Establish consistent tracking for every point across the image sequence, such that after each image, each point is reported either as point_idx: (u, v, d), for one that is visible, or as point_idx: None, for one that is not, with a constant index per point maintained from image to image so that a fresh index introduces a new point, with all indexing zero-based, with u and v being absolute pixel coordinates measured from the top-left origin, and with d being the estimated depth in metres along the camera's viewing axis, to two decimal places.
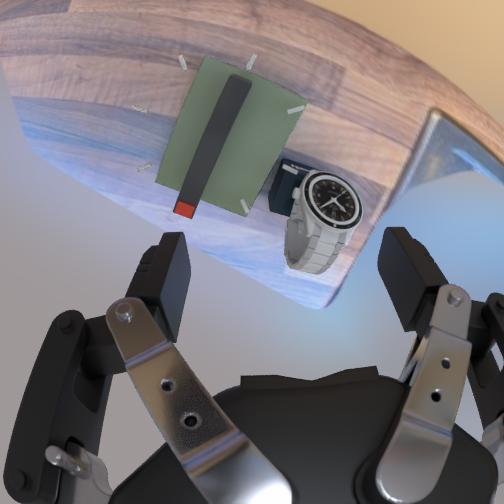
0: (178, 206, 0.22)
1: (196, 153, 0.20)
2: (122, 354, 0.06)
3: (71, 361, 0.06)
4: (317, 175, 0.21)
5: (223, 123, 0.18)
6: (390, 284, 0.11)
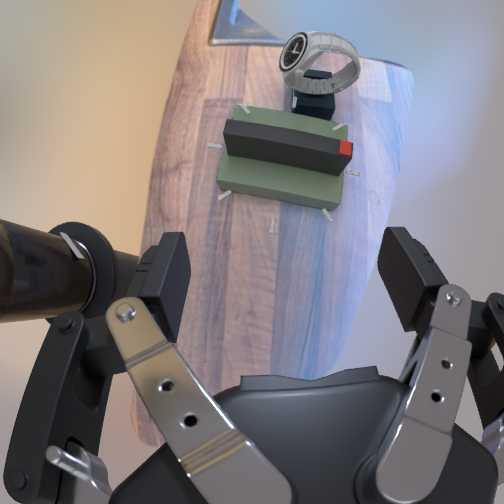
0: (344, 152, 0.23)
1: (293, 144, 0.23)
2: (122, 354, 0.06)
3: (71, 361, 0.06)
4: (283, 69, 0.25)
5: (262, 129, 0.24)
6: (390, 284, 0.11)
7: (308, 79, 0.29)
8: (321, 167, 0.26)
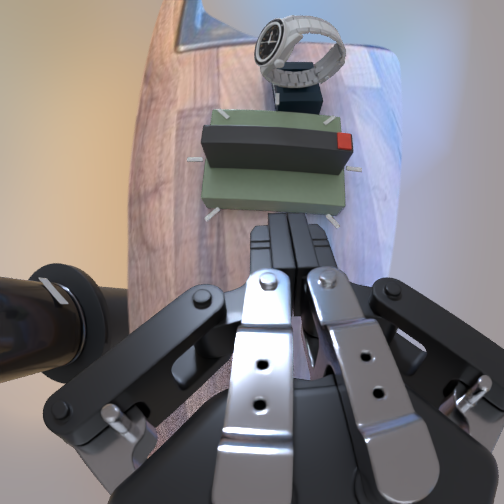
0: (343, 146, 0.20)
1: (283, 144, 0.20)
2: (243, 317, 0.07)
3: (186, 339, 0.07)
4: (260, 62, 0.21)
5: (245, 132, 0.20)
6: None
7: (288, 72, 0.26)
8: (319, 167, 0.23)
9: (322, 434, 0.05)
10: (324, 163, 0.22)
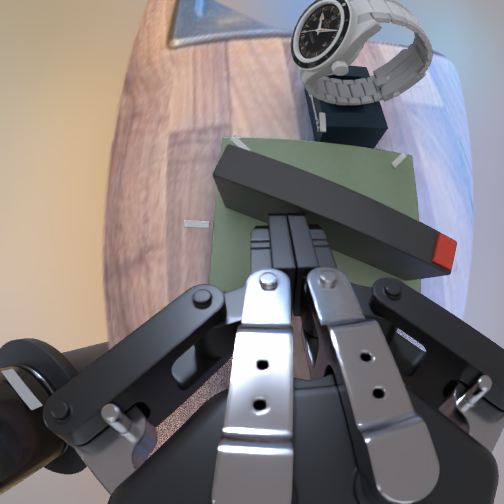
0: (442, 261, 0.11)
1: (352, 226, 0.11)
2: (243, 316, 0.07)
3: (186, 339, 0.07)
4: (303, 63, 0.13)
5: (295, 180, 0.12)
6: None
7: (336, 80, 0.17)
8: (387, 266, 0.14)
9: (322, 434, 0.05)
10: (397, 266, 0.13)
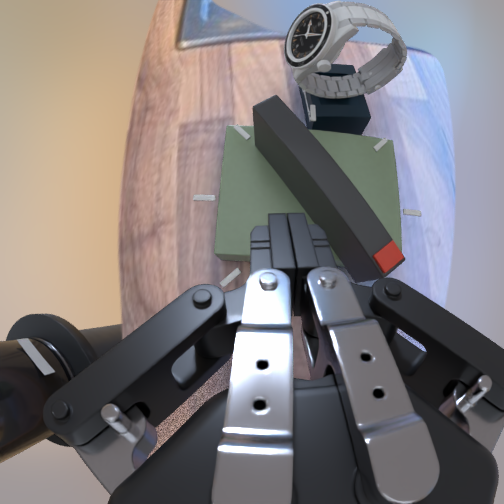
0: (380, 260, 0.13)
1: (323, 189, 0.14)
2: (243, 317, 0.07)
3: (186, 339, 0.07)
4: (294, 63, 0.15)
5: (303, 139, 0.14)
6: None
7: (325, 77, 0.19)
8: (343, 253, 0.16)
9: (322, 434, 0.05)
10: (349, 255, 0.16)
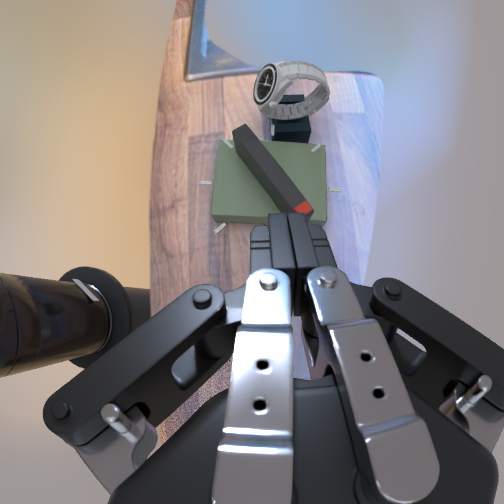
0: (298, 210, 0.26)
1: (267, 175, 0.27)
2: (243, 316, 0.07)
3: (186, 339, 0.07)
4: (257, 102, 0.28)
5: (258, 148, 0.27)
6: None
7: (282, 105, 0.32)
8: (284, 212, 0.29)
9: (322, 434, 0.05)
10: (286, 212, 0.28)
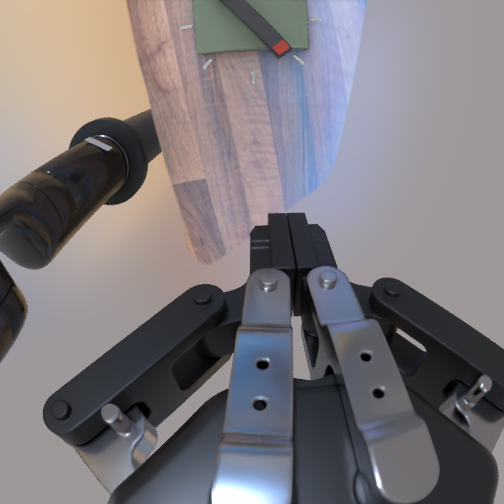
0: (276, 49, 0.22)
1: (243, 19, 0.21)
2: (243, 317, 0.07)
3: (186, 339, 0.07)
4: None
5: None
6: None
7: None
8: None
9: (322, 434, 0.05)
10: (267, 46, 0.24)
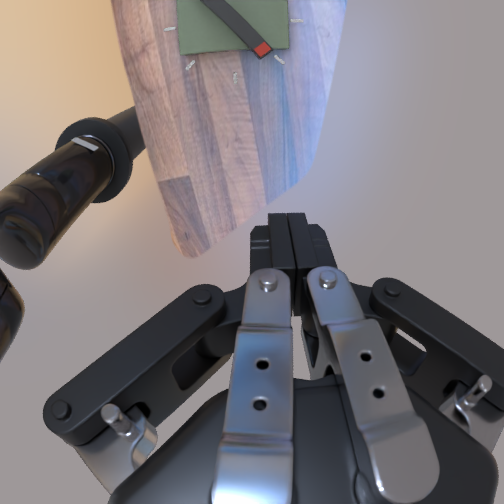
0: (257, 51, 0.23)
1: (226, 22, 0.22)
2: (243, 316, 0.07)
3: (186, 339, 0.07)
4: None
5: None
6: None
7: None
8: (247, 46, 0.26)
9: (322, 434, 0.05)
10: None
